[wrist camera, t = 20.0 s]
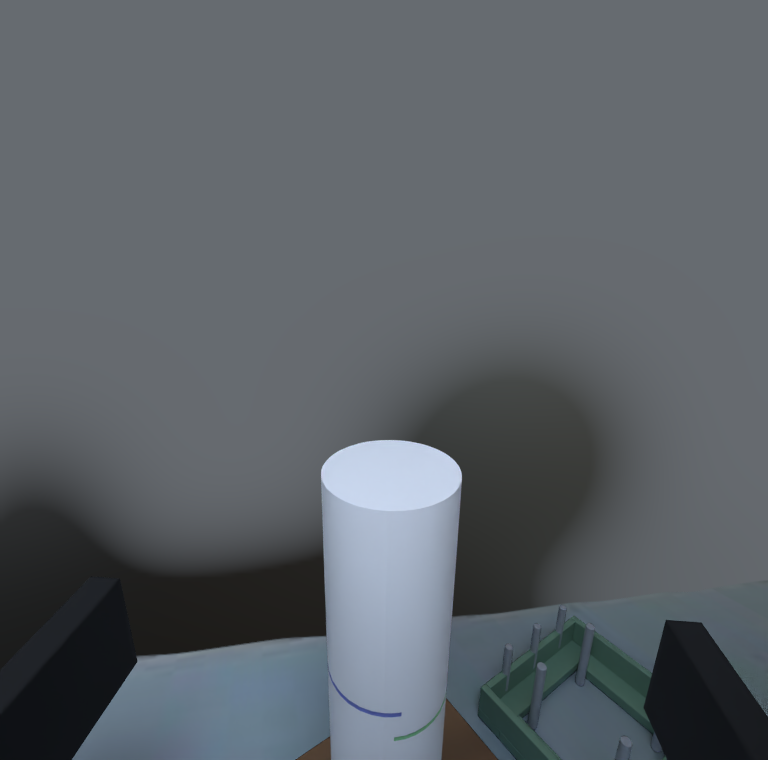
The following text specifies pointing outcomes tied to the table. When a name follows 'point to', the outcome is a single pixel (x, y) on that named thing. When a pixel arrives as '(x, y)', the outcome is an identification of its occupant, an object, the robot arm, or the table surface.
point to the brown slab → (459, 749)
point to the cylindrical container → (389, 597)
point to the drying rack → (547, 671)
